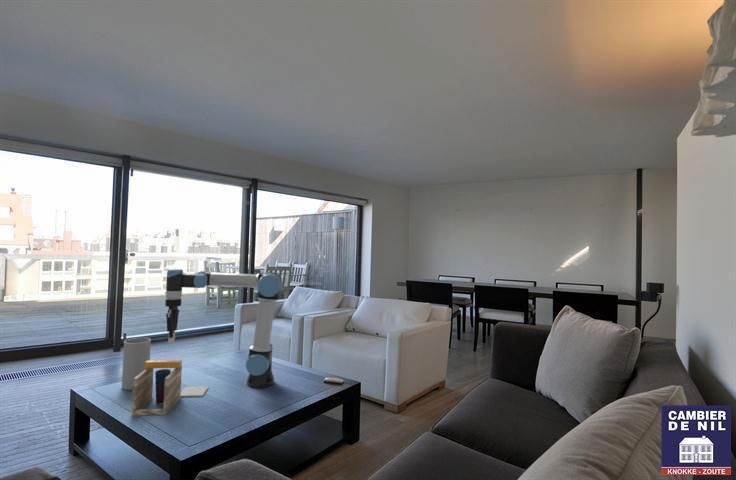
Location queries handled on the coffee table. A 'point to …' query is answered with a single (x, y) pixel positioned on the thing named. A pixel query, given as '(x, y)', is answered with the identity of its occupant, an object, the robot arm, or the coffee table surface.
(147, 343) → the cylinder vase
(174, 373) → the cradle
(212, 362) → the coffee table surface
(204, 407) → the coffee table surface
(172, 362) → the tie bar
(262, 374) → the robot arm
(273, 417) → the coffee table surface
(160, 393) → the cup
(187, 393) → the pad
